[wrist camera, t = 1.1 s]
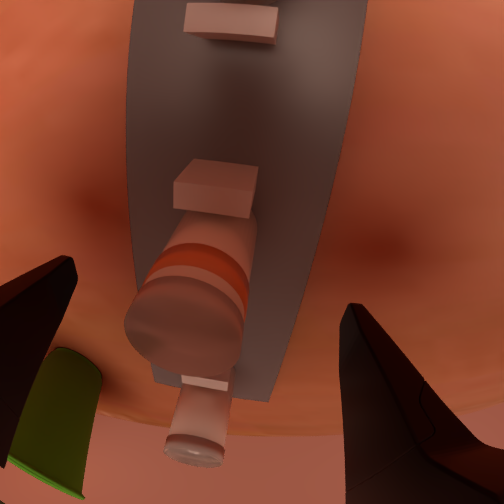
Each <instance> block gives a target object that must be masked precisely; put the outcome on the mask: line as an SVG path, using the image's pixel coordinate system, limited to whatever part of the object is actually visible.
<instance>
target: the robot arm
mask: <svg viewBox="0 0 504 504" xmlns="http://www.w3.org/2000/svg"><path fill="white" fill-rule="evenodd" d="M77 281H78V275H77V271H76V267H75V263H74V260H73V258H72V257H69V256H65V255H61V256H59V257H57V258H55V259H53V260H51V261H49V262H47V263H45V264H43V265H41V266H39V267H37V268H35V269H33V270H31V271H29V272H27V273H25V274H23V275H21V276H19V277H17V278H15V279H13V280H11V281H9V282H7V283H5V284H4V285H2V286H0V466H1V467H2V468H4V467H5V465H6V462H7V458H8V455H9V451H10V448H11V445H12V441H13V438H14V435H15V432H16V429H17V426H18V423H19V420H20V417H21V414H22V411H23V409H24V406H25V403H26V401H27V398H28V395H29V393H30V390H31V388H32V385H33V383H34V380H35V378H36V376H37V373H38V371H39V369H40V366H41V364H42V362H43V359H44V357H45V355H46V353H47V350H48V348H49V346H50V344H51V342H52V340H53V338H54V336H55V333H56V331H57V329H58V327H59V325H60V323H61V321H62V319H63V316H64V314H65V312H66V309H67V307H68V304H69V301H70V299H71V297H72V294H73V292H74V289H75V287H76V285H77ZM339 378H340V389H341V402H342V416H343V432H344V452H345V481H346V482H345V483H346V504H504V450H503V449H499V448H495V447H491V446H488V445H486V444H484V443H482V442H481V441H480V440H478V439H477V438H476V437H475V436H474V435H473V434H472V433H471V432H470V431H469V430H468V428H467V427H466V426H465V425H464V424H463V423H462V422H461V421H460V420H459V419H458V418H457V417H456V416H455V414H454V413H453V412H452V411H451V410H450V409H449V408H448V407H447V406H446V405H445V403H444V402H443V401H442V400H441V399H440V398H439V396H438V395H437V394H436V393H435V392H434V390H433V389H432V388H431V387H430V385H429V384H428V383H427V382H426V381H424V378H423V377H422V375H421V374H420V373H419V372H418V370H417V369H416V368H415V367H414V365H413V364H412V363H411V362H410V361H409V359H408V358H407V357H406V356H405V354H404V353H403V352H402V351H401V350H400V348H399V347H398V346H397V345H396V343H395V342H394V341H393V340H392V339H391V337H390V336H389V335H388V334H387V333H386V332H385V330H384V329H383V328H382V327H381V326H380V324H379V323H378V322H377V321H376V320H375V319H374V317H373V316H372V315H371V314H370V313H369V312H368V310H367V309H366V308H365V307H364V306H363V305H362V304H358V303H349V304H348V306H347V308H346V310H345V313H344V315H343V317H342V320H341V323H340V339H339ZM0 504H5V503H3V502H2V501H0Z"/></svg>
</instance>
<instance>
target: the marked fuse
mask: <svg viewBox="0 0 504 504" xmlns="http://www.w3.org/2000/svg"><path fill="white" fill-rule="evenodd" d="M256 237H257V222H256V218H255V216H254V214H253V212H252V210H251V212H250V217H249V219H248V218H241V217H234V216H227V215H220V214H213V213H206V212H199V211H191V210H187V211H186V213H185V214H184V216H183V218H182V219H181V221H180V223H179V224H178V226H177V228H176V229H175V231H174V233H173V234H172V236H171V238H170V240H169V241H168V243H167V245H166V246H165V248H164V250H163V252H162V253H161V254H160V255H159V256H158V258H157V259H156V261H155V262H154V264H153V266H152V268H151V269H150V271H149V273H148V275H147V277H146V278H145V280H144V282H143V284H142V287H141V289H140V290H139V291H138V293H137V295H136V297H135V299H134V300H133V302H132V304H131V306H130V308H129V310H128V312H127V314H126V316H125V320H124V328H125V332H126V335H127V337H128V339H129V341H130V343H131V344H132V346H133V347H134V348H135V349H136V350H137V351H138V352H139V353H140V354H141V355H142V356H143V357H144V358H146V359H147V360H148V361H150V362H151V363H153V364H155V365H157V366H158V367H161V368H163V369H165V370H167V371H170V372H173V373H176V374H180V375H185V376H192V377H208V376H214V375H218V374H221V373H223V372H226V371H227V370H229V369H230V368H232V367H233V366H234V365H235V364H236V362H237V361H238V359H239V356H240V352H241V346H242V339H243V332H244V322H245V318H246V312H247V306H248V299H249V290H250V288H249V282H250V275H251V269H252V262H253V256H254V250H255V243H256Z"/></svg>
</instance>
